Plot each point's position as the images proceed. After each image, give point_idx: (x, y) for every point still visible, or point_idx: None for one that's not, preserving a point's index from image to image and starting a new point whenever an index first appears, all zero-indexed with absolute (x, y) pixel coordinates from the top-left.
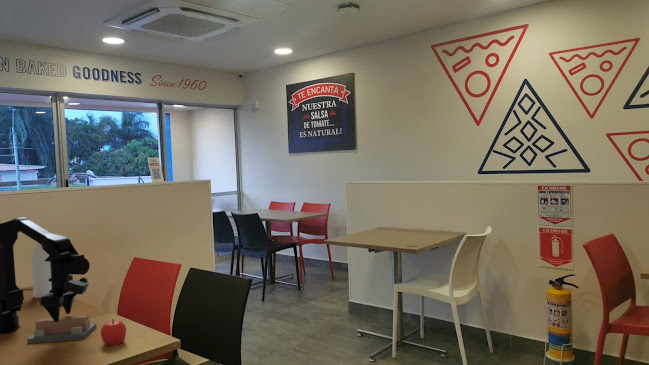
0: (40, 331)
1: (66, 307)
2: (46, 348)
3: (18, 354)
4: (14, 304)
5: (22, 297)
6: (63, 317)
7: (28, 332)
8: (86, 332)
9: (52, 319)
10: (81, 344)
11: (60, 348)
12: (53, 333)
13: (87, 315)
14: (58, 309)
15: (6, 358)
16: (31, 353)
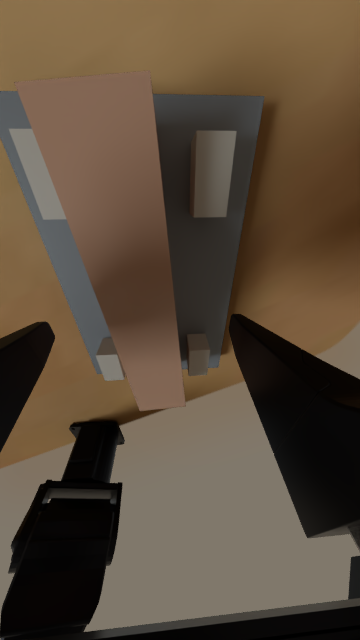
0: (208, 355)
1: (23, 374)
2: (302, 275)
3: (311, 336)
4: (78, 523)
5: (30, 556)
6: (126, 325)
7: (113, 392)
8: (200, 96)
9: (160, 363)
10: (357, 71)
11: (343, 206)
12: (179, 312)
13: (52, 80)
14: (347, 377)
15: (327, 349)
16: (328, 304)
